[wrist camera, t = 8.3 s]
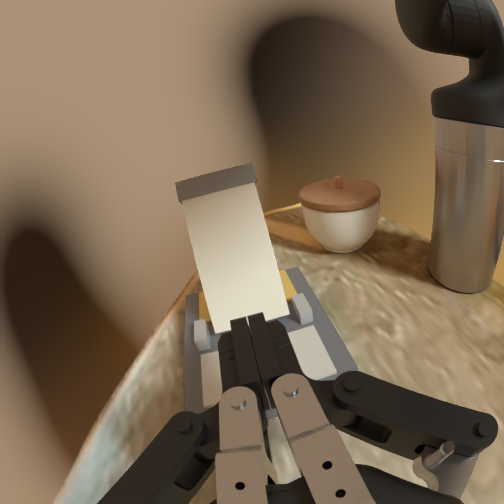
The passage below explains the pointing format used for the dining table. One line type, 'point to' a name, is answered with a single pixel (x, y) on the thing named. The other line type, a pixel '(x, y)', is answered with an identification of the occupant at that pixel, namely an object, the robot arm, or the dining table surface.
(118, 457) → the dining table surface
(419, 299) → the dining table surface
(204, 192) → the lever
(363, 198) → the lidded jar
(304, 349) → the switch unit
